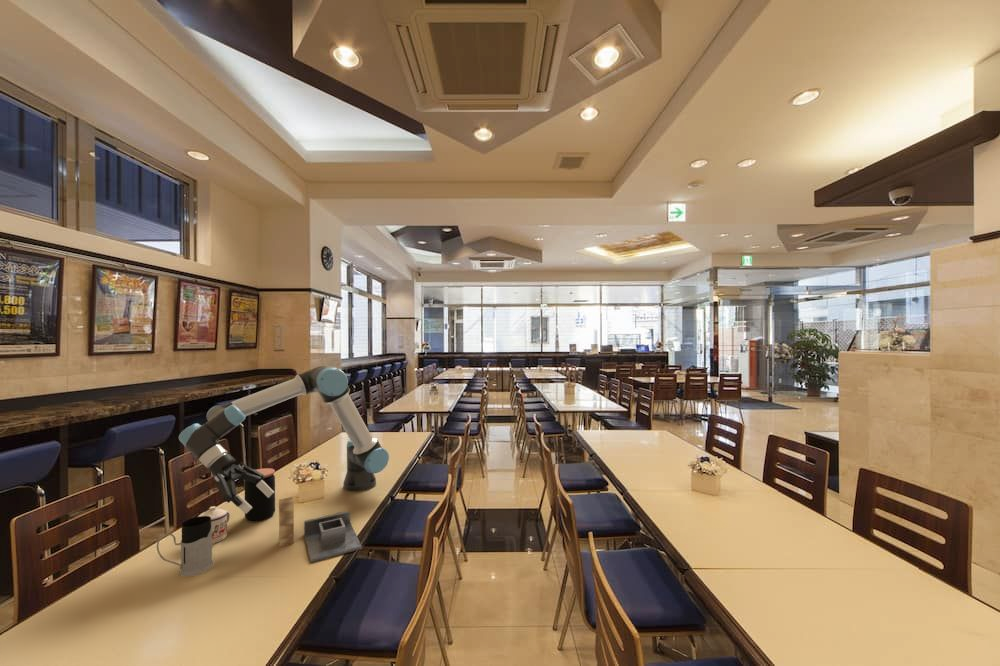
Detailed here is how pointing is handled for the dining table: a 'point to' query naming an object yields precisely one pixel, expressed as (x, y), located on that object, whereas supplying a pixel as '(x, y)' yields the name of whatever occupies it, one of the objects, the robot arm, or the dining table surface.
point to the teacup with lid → (218, 523)
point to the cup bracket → (330, 536)
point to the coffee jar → (260, 498)
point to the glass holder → (194, 546)
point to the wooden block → (286, 521)
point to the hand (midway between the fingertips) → (260, 502)
